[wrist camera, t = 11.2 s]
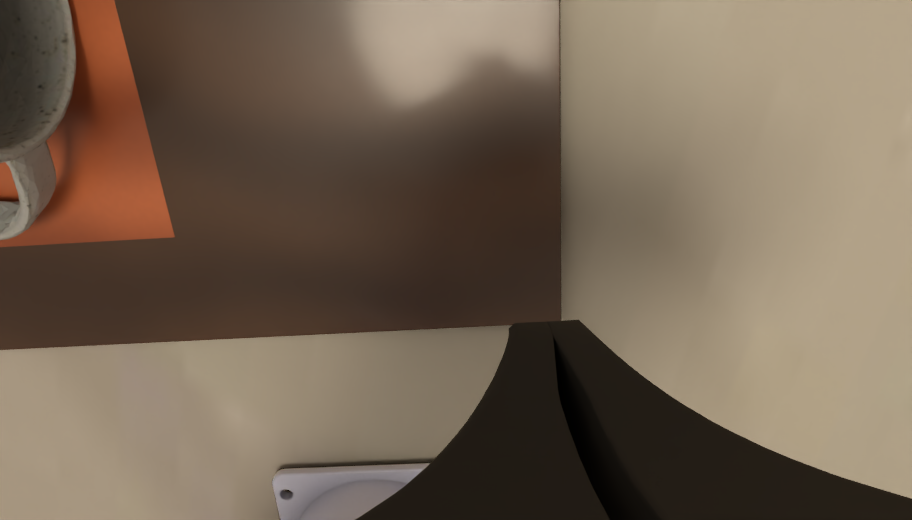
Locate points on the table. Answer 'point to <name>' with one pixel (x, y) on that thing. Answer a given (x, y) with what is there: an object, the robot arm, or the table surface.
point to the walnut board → (295, 173)
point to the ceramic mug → (32, 101)
